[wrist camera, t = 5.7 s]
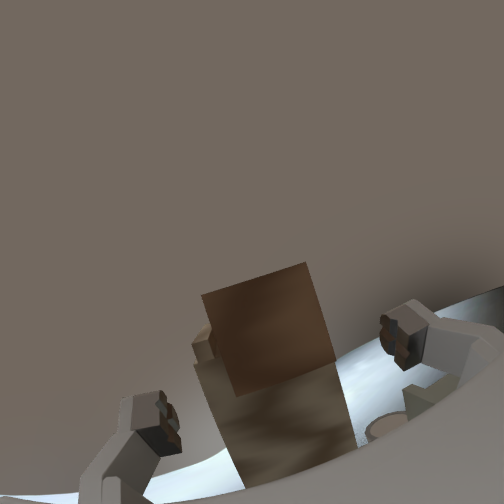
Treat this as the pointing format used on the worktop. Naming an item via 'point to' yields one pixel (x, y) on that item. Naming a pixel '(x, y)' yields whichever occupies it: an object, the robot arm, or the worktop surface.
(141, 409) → the robot arm
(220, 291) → the walnut bar
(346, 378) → the worktop surface
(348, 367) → the worktop surface
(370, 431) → the grey brown short cylinder
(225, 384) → the shelf block
